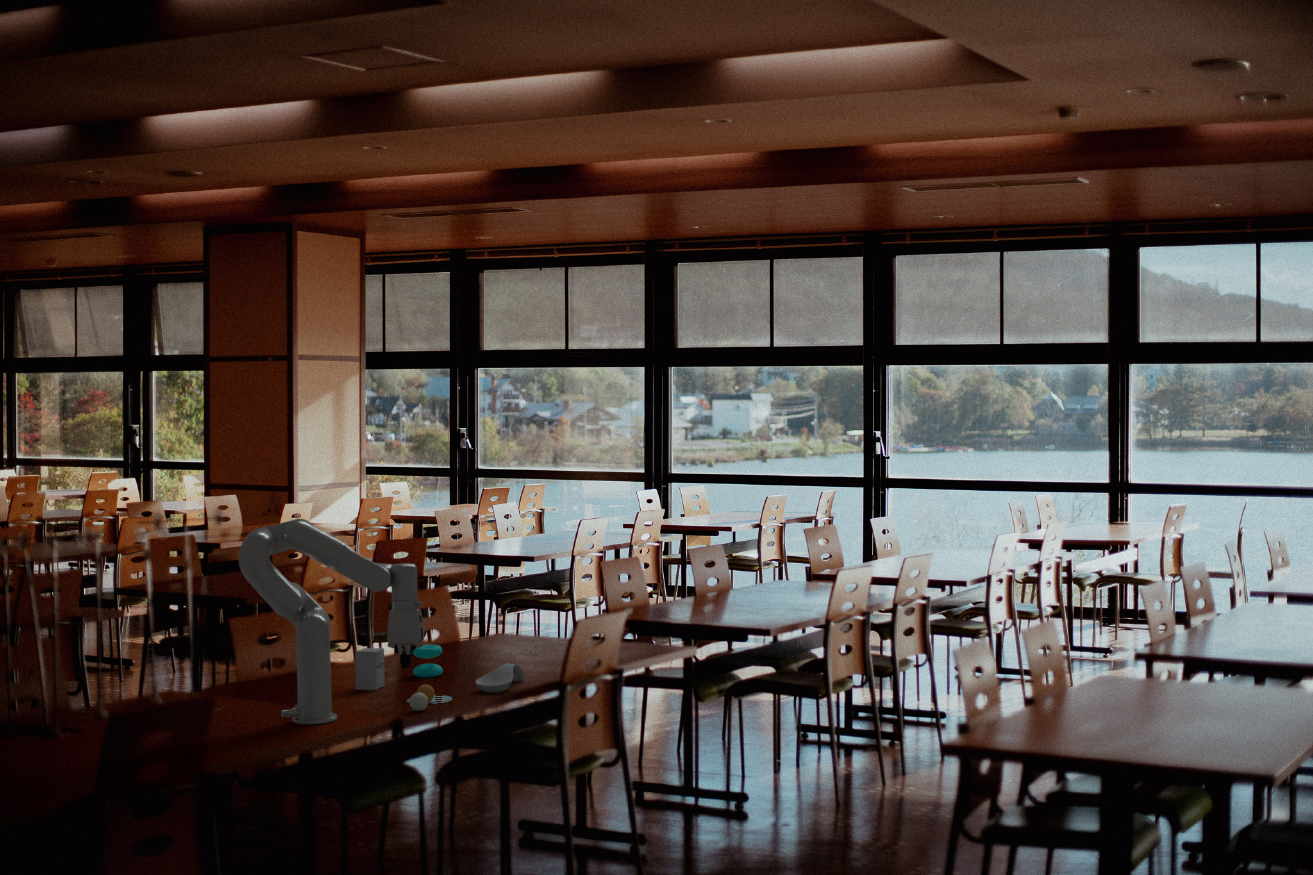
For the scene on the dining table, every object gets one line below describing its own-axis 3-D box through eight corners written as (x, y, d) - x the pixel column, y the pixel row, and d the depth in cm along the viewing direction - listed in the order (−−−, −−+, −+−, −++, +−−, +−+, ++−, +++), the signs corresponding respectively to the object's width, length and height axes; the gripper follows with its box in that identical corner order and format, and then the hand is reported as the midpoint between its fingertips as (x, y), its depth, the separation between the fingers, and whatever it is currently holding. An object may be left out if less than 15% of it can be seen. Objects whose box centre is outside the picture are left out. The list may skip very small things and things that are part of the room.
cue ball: (426, 688, 404) (423, 704, 406) (409, 688, 401) (405, 704, 403) (432, 698, 400) (428, 714, 401) (414, 698, 397) (410, 714, 399)
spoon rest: (502, 696, 423) (501, 673, 423) (469, 694, 427) (468, 672, 427) (534, 682, 445) (533, 661, 445) (502, 680, 449) (502, 659, 449)
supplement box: (376, 690, 434) (375, 651, 434) (355, 690, 436) (354, 651, 436) (385, 686, 442) (384, 647, 442) (364, 685, 443) (363, 647, 443)
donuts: (421, 643, 466) (447, 644, 463) (422, 672, 466) (447, 673, 463) (407, 648, 457) (433, 649, 453) (407, 677, 457) (434, 678, 453)
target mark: (416, 706, 407) (416, 706, 407) (400, 699, 419) (400, 698, 419) (459, 701, 415) (459, 700, 415) (442, 693, 427) (442, 693, 427)
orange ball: (425, 677, 415) (428, 689, 419) (411, 688, 412) (415, 700, 416) (436, 686, 412) (439, 698, 415) (422, 697, 409) (426, 709, 413)
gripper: (433, 603, 399) (434, 665, 399) (385, 603, 401) (386, 664, 401) (425, 607, 391) (426, 669, 391) (376, 606, 393) (377, 669, 394)
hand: (406, 667), depth 396 cm, fingers closed
